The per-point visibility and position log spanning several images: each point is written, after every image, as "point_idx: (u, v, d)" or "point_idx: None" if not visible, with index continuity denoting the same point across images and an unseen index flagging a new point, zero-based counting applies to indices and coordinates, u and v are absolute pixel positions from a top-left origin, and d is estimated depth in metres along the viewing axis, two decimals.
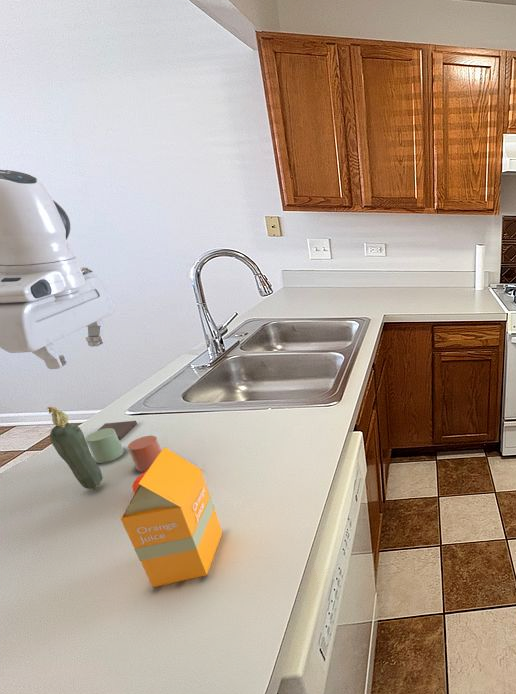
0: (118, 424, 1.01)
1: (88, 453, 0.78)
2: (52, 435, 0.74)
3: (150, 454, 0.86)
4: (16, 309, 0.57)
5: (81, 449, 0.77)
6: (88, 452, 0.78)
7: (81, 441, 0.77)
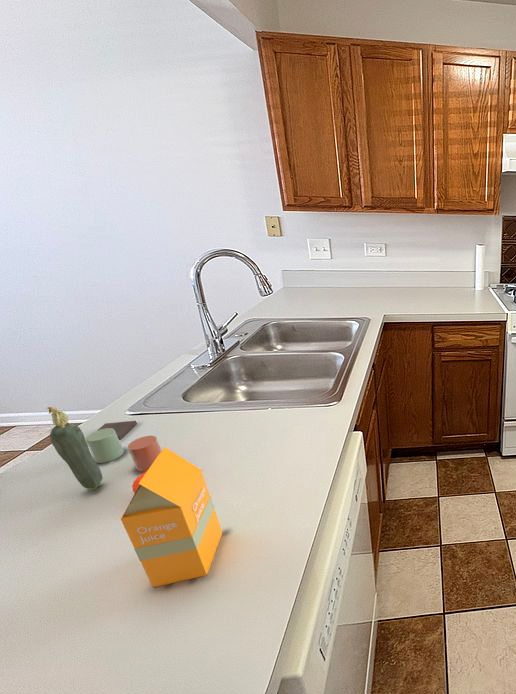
0: (118, 424, 1.01)
1: (88, 453, 0.78)
2: (52, 435, 0.74)
3: (150, 454, 0.86)
4: None
5: (81, 449, 0.77)
6: (88, 452, 0.78)
7: (81, 441, 0.77)
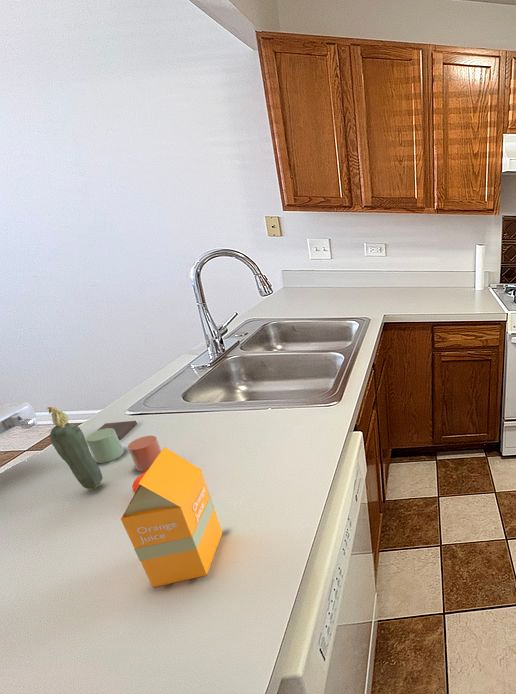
0: (118, 424, 1.01)
1: (88, 453, 0.78)
2: (52, 435, 0.74)
3: (150, 454, 0.86)
4: None
5: (81, 449, 0.77)
6: (88, 452, 0.78)
7: (81, 441, 0.77)
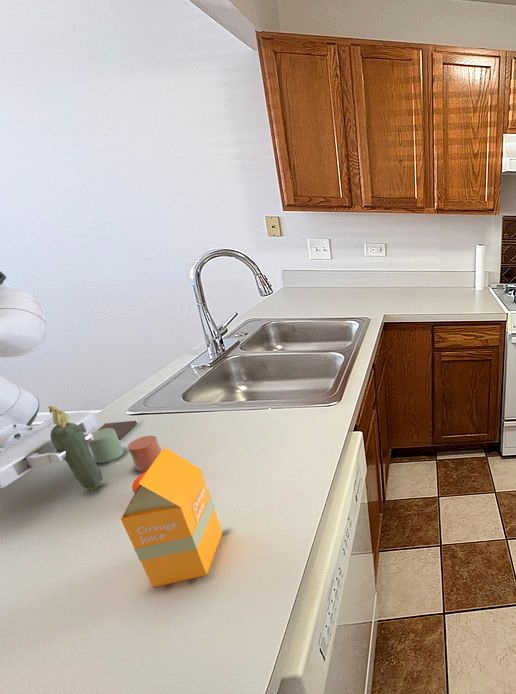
0: (118, 424, 1.01)
1: (88, 453, 0.78)
2: (52, 435, 0.74)
3: (150, 454, 0.86)
4: None
5: (81, 449, 0.77)
6: (88, 452, 0.78)
7: (81, 441, 0.77)
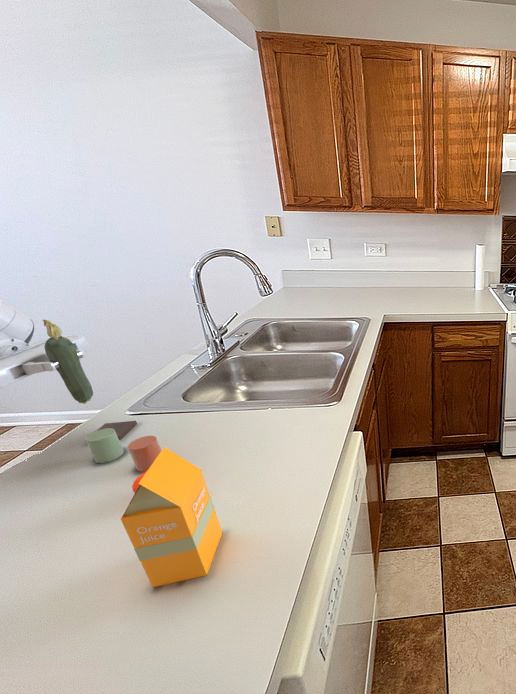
0: (118, 424, 1.01)
1: (80, 367, 0.85)
2: (46, 345, 0.81)
3: (150, 454, 0.86)
4: None
5: (73, 361, 0.83)
6: (80, 366, 0.85)
7: (73, 354, 0.83)
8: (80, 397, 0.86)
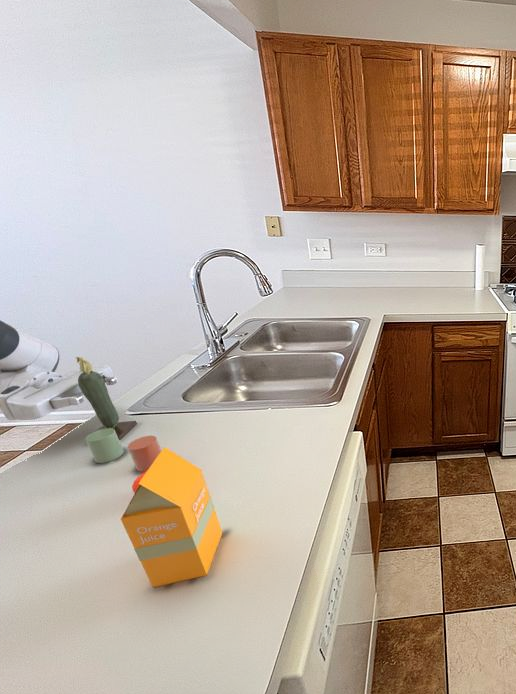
0: (118, 424, 1.01)
1: (108, 397, 0.96)
2: (80, 380, 0.92)
3: (150, 454, 0.86)
4: (7, 403, 0.86)
5: (102, 392, 0.95)
6: (108, 396, 0.96)
7: (102, 386, 0.95)
8: (108, 423, 0.98)
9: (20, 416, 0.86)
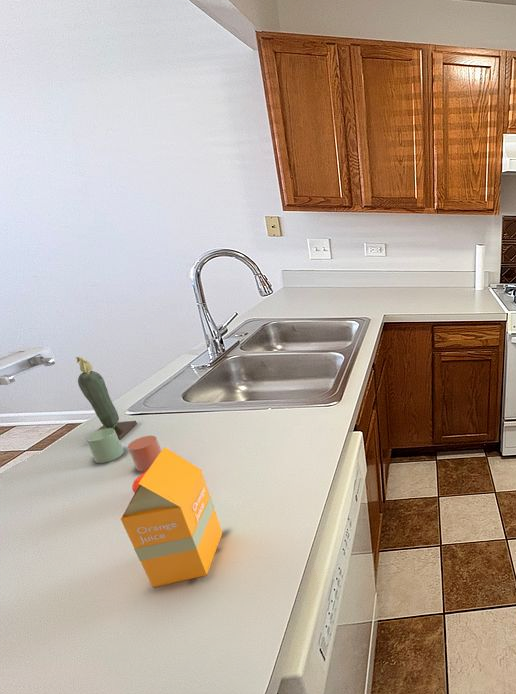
0: (118, 424, 1.01)
1: (108, 397, 0.96)
2: (80, 380, 0.92)
3: (150, 454, 0.86)
4: None
5: (102, 392, 0.95)
6: (108, 396, 0.96)
7: (102, 386, 0.95)
8: (108, 423, 0.98)
9: None
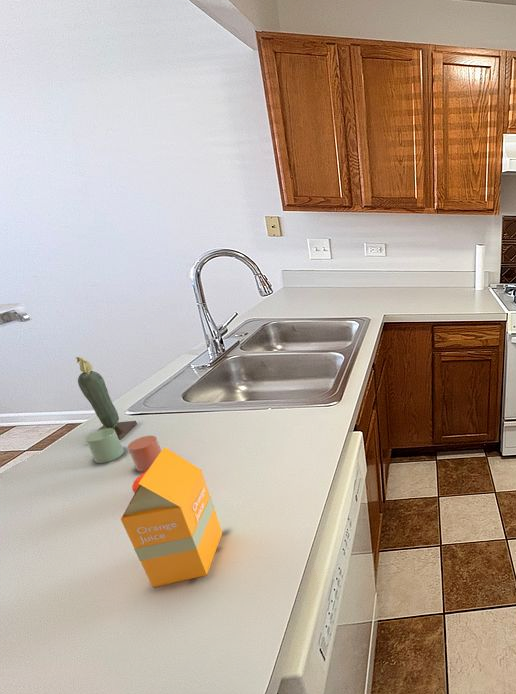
0: (118, 424, 1.01)
1: (108, 397, 0.96)
2: (80, 380, 0.92)
3: (150, 454, 0.86)
4: None
5: (102, 392, 0.95)
6: (108, 396, 0.96)
7: (102, 386, 0.95)
8: (108, 423, 0.98)
9: None
